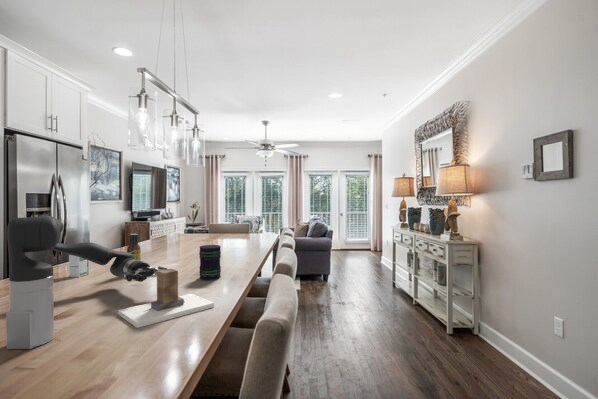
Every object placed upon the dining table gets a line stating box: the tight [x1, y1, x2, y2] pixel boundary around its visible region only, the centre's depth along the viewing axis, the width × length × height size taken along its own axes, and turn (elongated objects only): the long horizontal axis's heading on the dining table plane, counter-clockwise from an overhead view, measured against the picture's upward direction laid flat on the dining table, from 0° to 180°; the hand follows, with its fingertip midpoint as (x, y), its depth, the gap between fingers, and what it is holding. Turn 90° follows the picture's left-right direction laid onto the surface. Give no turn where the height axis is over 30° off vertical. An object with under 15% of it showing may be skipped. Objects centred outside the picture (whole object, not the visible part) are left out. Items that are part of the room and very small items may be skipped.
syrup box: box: [68, 254, 90, 278], centre depth 164 cm, size 6×6×14 cm
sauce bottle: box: [126, 233, 141, 261], centre depth 168 cm, size 6×6×20 cm
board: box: [117, 293, 215, 329], centre depth 114 cm, size 26×16×2 cm, turn 136°
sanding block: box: [150, 268, 184, 311], centre depth 114 cm, size 9×5×12 cm, turn 136°
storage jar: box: [198, 244, 222, 281], centre depth 160 cm, size 10×10×15 cm
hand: (154, 276), depth 122 cm, fingers open, 8 cm apart
